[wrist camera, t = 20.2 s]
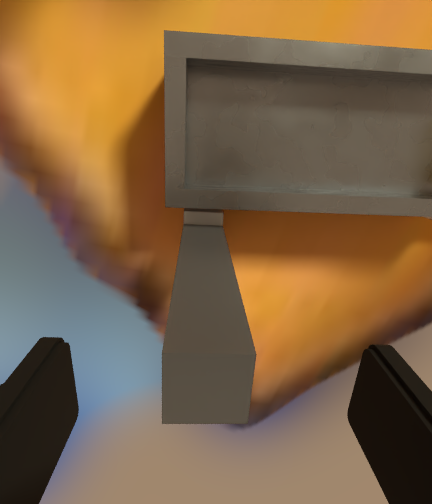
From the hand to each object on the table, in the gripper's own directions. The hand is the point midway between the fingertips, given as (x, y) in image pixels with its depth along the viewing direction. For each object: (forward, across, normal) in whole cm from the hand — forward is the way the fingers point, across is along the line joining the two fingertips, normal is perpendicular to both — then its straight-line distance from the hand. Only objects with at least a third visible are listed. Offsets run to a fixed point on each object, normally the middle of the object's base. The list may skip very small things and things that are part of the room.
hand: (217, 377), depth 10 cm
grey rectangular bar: (+15, +1, -1) cm, 15 cm away
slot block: (+15, -6, -7) cm, 18 cm away
